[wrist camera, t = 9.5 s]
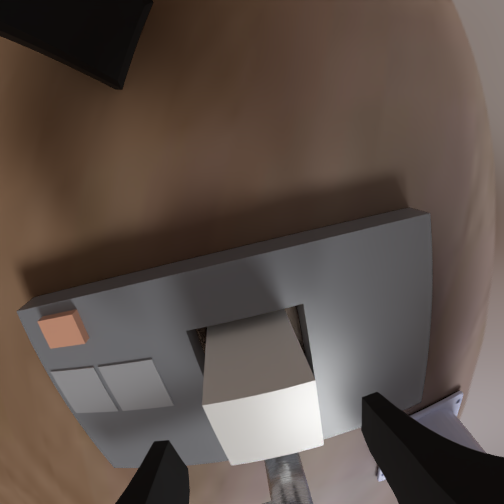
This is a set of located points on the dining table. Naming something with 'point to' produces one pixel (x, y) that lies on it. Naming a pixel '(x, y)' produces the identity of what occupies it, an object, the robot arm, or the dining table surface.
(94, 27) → the speaker
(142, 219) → the dining table surface
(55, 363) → the power strip
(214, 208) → the dining table surface
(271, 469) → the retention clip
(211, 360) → the plug
